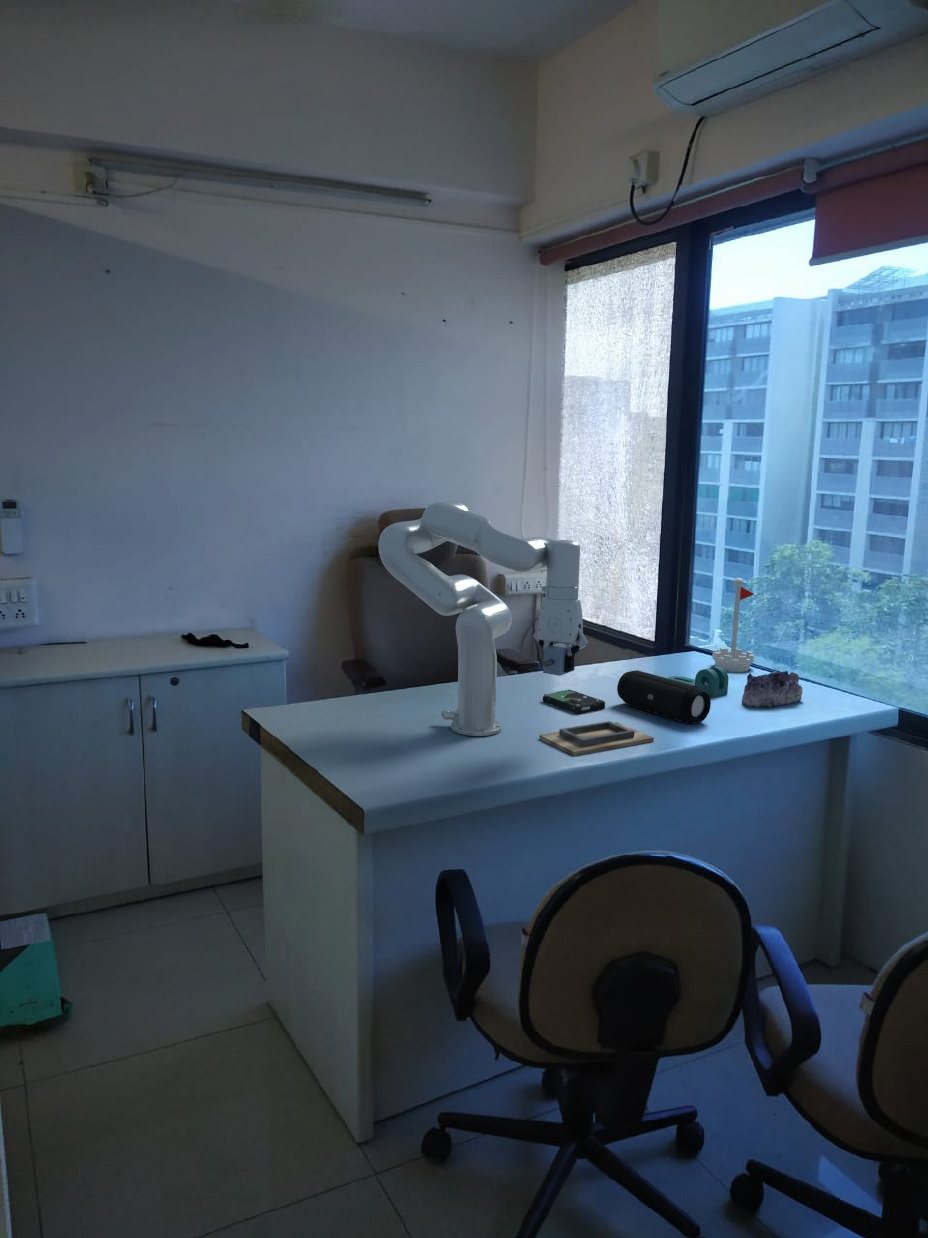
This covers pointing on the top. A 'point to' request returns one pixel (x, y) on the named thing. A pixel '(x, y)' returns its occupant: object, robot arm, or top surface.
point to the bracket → (708, 681)
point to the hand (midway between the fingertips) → (559, 668)
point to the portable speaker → (664, 696)
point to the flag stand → (735, 640)
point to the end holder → (595, 738)
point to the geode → (771, 690)
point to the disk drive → (574, 702)
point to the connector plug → (555, 659)
